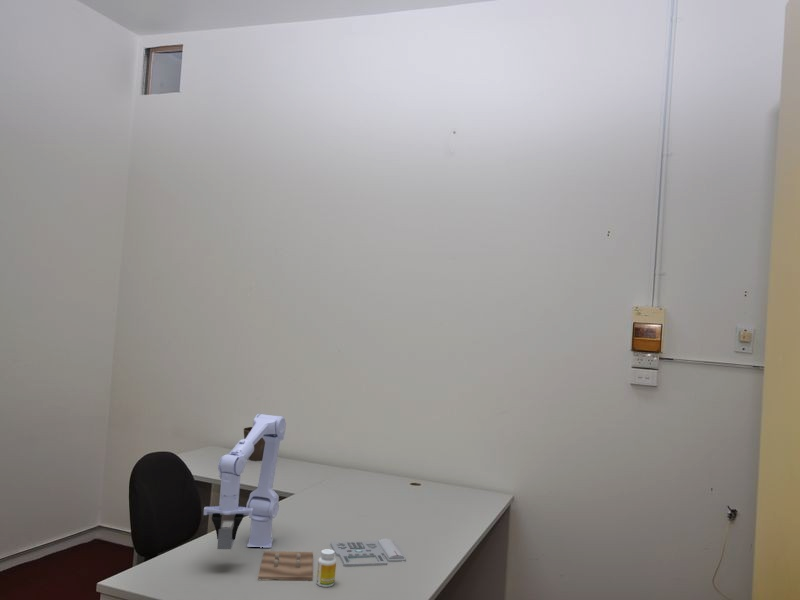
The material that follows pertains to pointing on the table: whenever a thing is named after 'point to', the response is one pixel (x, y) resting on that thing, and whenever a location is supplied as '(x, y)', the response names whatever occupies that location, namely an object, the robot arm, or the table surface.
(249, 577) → the table surface
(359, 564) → the office telephone
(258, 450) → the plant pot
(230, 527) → the block
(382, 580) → the table surface
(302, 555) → the pin tray
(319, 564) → the supplement bottle
